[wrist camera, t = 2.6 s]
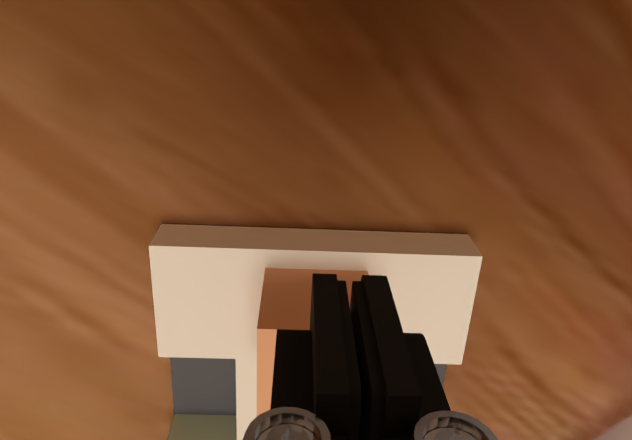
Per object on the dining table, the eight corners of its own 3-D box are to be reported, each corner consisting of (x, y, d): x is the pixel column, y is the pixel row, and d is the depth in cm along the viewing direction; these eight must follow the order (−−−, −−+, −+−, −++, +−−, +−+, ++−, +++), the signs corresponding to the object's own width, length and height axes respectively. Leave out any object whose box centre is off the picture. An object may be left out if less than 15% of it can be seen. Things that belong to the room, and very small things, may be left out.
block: (264, 267, 26) (257, 328, 21) (367, 271, 26) (381, 332, 22) (264, 351, 28) (256, 424, 23) (359, 354, 28) (370, 426, 24)
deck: (161, 223, 28) (148, 245, 25) (467, 234, 28) (482, 256, 26) (182, 496, 36) (174, 532, 33) (420, 500, 36) (428, 535, 34)
